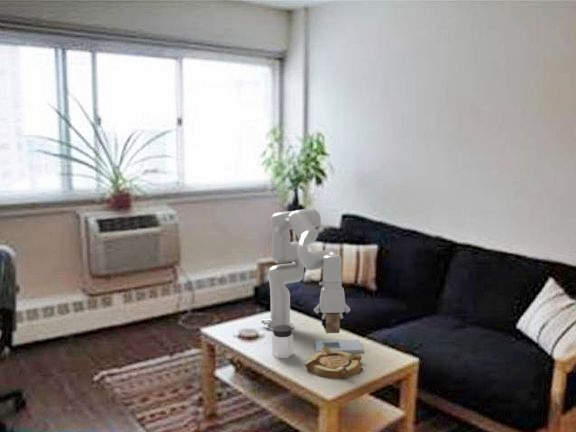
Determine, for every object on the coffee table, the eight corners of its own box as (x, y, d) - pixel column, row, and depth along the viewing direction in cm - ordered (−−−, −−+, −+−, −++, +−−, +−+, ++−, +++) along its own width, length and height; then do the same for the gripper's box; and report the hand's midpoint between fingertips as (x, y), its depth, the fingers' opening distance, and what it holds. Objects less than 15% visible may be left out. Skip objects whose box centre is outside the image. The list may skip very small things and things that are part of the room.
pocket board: (317, 354, 245) (317, 350, 245) (314, 343, 257) (314, 340, 256) (363, 353, 246) (363, 349, 245) (358, 342, 257) (358, 339, 257)
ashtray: (293, 365, 235) (293, 354, 234) (335, 351, 249) (335, 340, 248) (330, 386, 216) (330, 373, 215) (374, 369, 230) (374, 357, 229)
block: (326, 333, 229) (326, 314, 228) (324, 328, 234) (324, 310, 233) (339, 333, 229) (339, 314, 228) (337, 328, 234) (337, 309, 233)
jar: (293, 350, 249) (292, 324, 247) (293, 358, 241) (292, 331, 239) (272, 350, 249) (272, 324, 247) (272, 358, 241) (271, 331, 239)
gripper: (311, 287, 224) (312, 331, 227) (354, 286, 225) (354, 330, 228) (310, 282, 232) (310, 324, 235) (351, 281, 233) (351, 323, 235)
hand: (332, 326), depth 231 cm, fingers closed on block, 5 cm apart
